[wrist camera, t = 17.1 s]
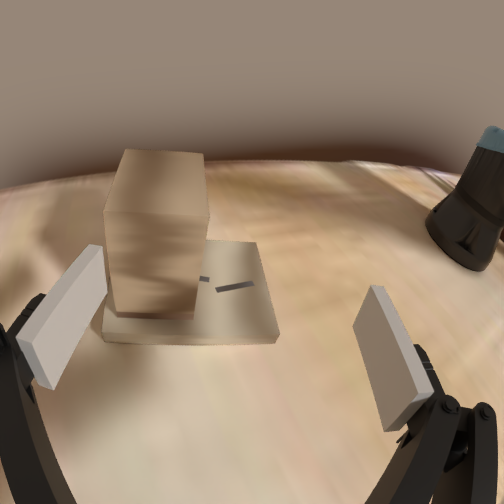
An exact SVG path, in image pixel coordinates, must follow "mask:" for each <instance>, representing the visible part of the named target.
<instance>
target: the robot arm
mask: <svg viewBox="0 0 504 504" xmlns="http://www.w3.org/2000/svg"><path fill="white" fill-rule="evenodd" d="M476 145H477V147H476V149H475V152H474V154H473V156H472V157H471V159H470V161H469V163H468V165H467V167H466V169H465V170H464V172H463V174H462V176H461V178H460V180H459V181H458V183H457V185H456V187H455V189H454V190H453V191H452V192H451V193H450V194H449V195H448V196H447V197H445V198H444V199H443V200H442V201H441V202H440V203H439V204H437V205H436V206H435V207H434V208H433V209H432V210H431V211H430V213H429V215H428V217H427V218H426V227H427V229H428V231H429V233H430V235H431V236H432V238H433V239H434V240H435V241H436V243H437V244H438V245H439V246H440V247H441V248H442V249H443V250H444V251H445V252H446V253H447V254H448V255H449V256H451V257H452V258H453V259H454V260H456V261H457V262H458V263H460V264H462V265H463V266H465V267H467V268H469V269H471V270H474V271H483V270H485V268H486V267H487V266H488V265H489V263H490V262H491V260H492V258H493V255H494V252H495V249H496V247H497V244H498V240H499V237H500V234H501V231H502V229H503V228H504V130H502V129H500V128H498V127H496V126H489V127H487V128H486V130H485V131H484V133H483V135H482V137H481V139H480V140H479V142H478V143H477V144H476ZM107 292H108V291H107V283H106V275H105V266H104V256H103V246H98V245H92V244H89V245H88V246H87V247H86V248H85V249H84V250H83V252H82V253H81V254H80V255H79V256H78V257H77V258H76V260H75V261H74V262H73V263H72V264H71V265H70V267H69V268H68V269H67V270H66V271H65V273H64V274H63V275H62V276H61V278H60V279H59V280H58V281H57V282H56V284H55V285H54V286H53V287H52V289H51V290H50V291H49V293H48V294H47V295H46V294H42V293H40V294H39V295H37V296H36V297H34V298H33V299H31V301H30V302H29V303H28V304H27V306H26V307H25V309H23V311H22V312H21V315H19V316H18V317H17V319H16V320H15V321H14V323H13V324H12V325H11V327H10V328H9V330H8V331H7V332H5V330H4V328H3V325H2V324H1V323H0V458H1V462H2V465H3V469H4V472H5V475H6V478H7V481H8V484H9V487H10V490H11V493H12V496H13V498H14V501H15V504H77V503H76V501H75V499H74V497H73V495H72V493H71V491H70V489H69V487H68V484H67V482H66V480H65V478H64V476H63V473H62V471H61V469H60V466H59V464H58V462H57V459H56V457H55V454H54V452H53V449H52V446H51V444H50V441H49V438H48V435H47V433H46V430H45V427H44V424H43V421H42V417H41V414H40V411H39V408H38V404H37V401H36V397H35V394H34V390H33V387H32V385H31V381H32V379H33V377H35V379H36V381H37V383H38V384H39V385H40V386H43V387H45V388H48V389H51V390H53V391H54V389H55V387H56V385H57V383H58V381H59V379H60V377H61V375H62V373H63V371H64V369H65V367H66V365H67V363H68V361H69V359H70V357H71V356H72V354H73V352H74V350H75V348H76V346H77V344H78V343H79V341H80V339H81V337H82V335H83V333H84V332H85V330H86V328H87V326H88V325H89V323H90V321H91V319H92V318H93V316H94V314H95V312H96V311H97V309H98V307H99V306H100V304H101V302H102V300H103V299H104V297H105V295H106V294H107ZM353 329H354V332H355V335H356V338H357V341H358V344H359V348H360V351H361V354H362V357H363V360H364V364H365V367H366V370H367V373H368V377H369V380H370V383H371V387H372V390H373V394H374V397H375V401H376V404H377V408H378V412H379V415H380V419H381V423H382V426H383V430H384V432H390V431H398V430H400V429H401V428H402V427H403V426H404V425H405V424H406V423H407V426H408V430H407V431H406V432H405V433H404V434H403V435H402V436H401V437H400V438H399V439H398V440H397V442H396V443H399V442H400V441H401V442H400V444H399V446H398V448H397V450H396V452H395V454H394V455H393V457H392V459H391V461H390V463H389V464H388V466H387V468H386V470H385V472H384V473H383V475H382V477H381V478H380V480H379V482H378V483H377V485H376V487H375V488H374V490H373V491H372V493H371V494H370V496H369V498H368V499H367V501H366V502H365V504H429V502H430V500H431V498H432V495H433V498H432V503H431V504H496V495H497V477H498V440H497V421H496V414H495V411H494V410H493V408H492V407H491V406H490V405H489V404H487V403H485V402H480V403H478V404H477V405H476V406H475V407H474V408H473V409H470V408H465V407H460V404H459V403H458V401H457V400H456V399H455V398H454V397H452V396H450V395H445V393H444V390H443V388H442V386H441V384H440V381H439V379H438V377H437V375H436V373H435V371H434V370H433V366H432V364H431V363H430V360H429V358H428V356H427V354H426V352H425V351H424V350H423V349H422V348H421V346H420V345H419V344H413V343H412V341H411V339H410V337H409V335H408V333H407V331H406V329H405V327H404V325H403V323H402V321H401V319H400V317H399V315H398V313H397V311H396V309H395V307H394V305H393V303H392V301H391V299H390V297H389V295H388V293H387V292H386V290H385V288H384V286H376V285H370V288H369V290H368V292H367V295H366V297H365V299H364V302H363V304H362V306H361V308H360V311H359V313H358V315H357V317H356V319H355V322H354V324H353ZM467 448H468V449H467Z"/></svg>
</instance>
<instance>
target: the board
mask: <svg viewBox="0 0 504 504" xmlns="http://www.w3.org/2000/svg"><path fill="white" fill-rule="evenodd" d="M107 291H108V292H107V295H106V302H105V308H104V315H103V323H102V331H101V332H102V336H103V339H104V342H115V343H133V344H157V345H249V344H273V343H275V342H276V340H277V339H278V337H279V335H280V332H279V328H278V324H277V321H276V317H275V313H274V309H273V305H272V301H271V298H270V294H269V290H268V286H267V282H266V279H265V275H264V271H263V267H262V263H261V260H260V256H259V252H258V248H257V244H256V243H255V242H238V241H220V240H206V241H205V247H204V253H203V259H202V265H201V271H200V278H199V284H198V291H197V298H196V304H195V311H194V318H193V320H168V319H139V318H118V317H117V313H116V308H115V302H114V296H113V290H112V284H111V277H110V278H109V283H108V289H107Z"/></svg>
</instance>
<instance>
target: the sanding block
mask: <svg viewBox="0 0 504 504" xmlns="http://www.w3.org/2000/svg"><path fill="white" fill-rule="evenodd" d="M103 216H104V227H105V237H106V247H107V255H108V263H109V270H110V277H111V284H112V290H113V296H114V302H115V308H116V313H117V317H118V318H139V319H168V320H193V318H194V311H195V304H196V298H197V291H198V284H199V278H200V271H201V265H202V259H203V253H204V247H205V241H206V235H207V229H208V224H209V218H210V214H209V206H208V197H207V187H206V178H205V168H204V158H203V154H200V153H188V152H176V151H161V150H160V151H159V150H142V149H125V151H124V154H123V156H122V159H121V162H120V164H119V167H118V170H117V172H116V175H115V178H114V180H113V183H112V186H111V189H110V192H109V195H108V198H107V201H106V204H105V207H104V210H103Z"/></svg>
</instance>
